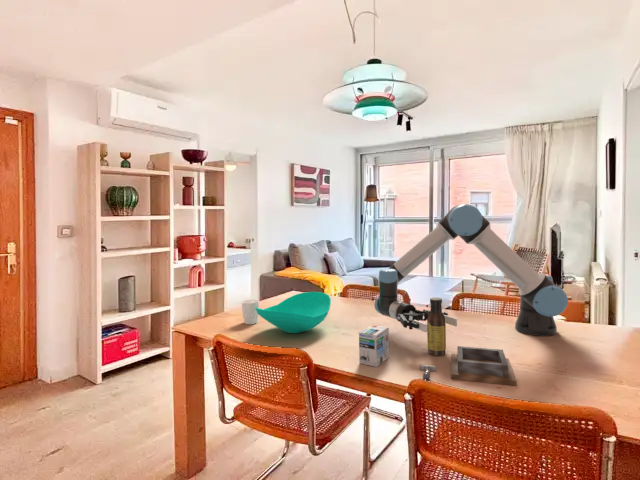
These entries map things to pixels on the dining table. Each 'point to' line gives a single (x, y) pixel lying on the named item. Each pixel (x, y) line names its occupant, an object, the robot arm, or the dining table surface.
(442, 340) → the sauce bottle
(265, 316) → the table top decor
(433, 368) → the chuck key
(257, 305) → the white cup
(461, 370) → the grey square tray
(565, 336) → the dining table surface
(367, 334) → the light bulb box
